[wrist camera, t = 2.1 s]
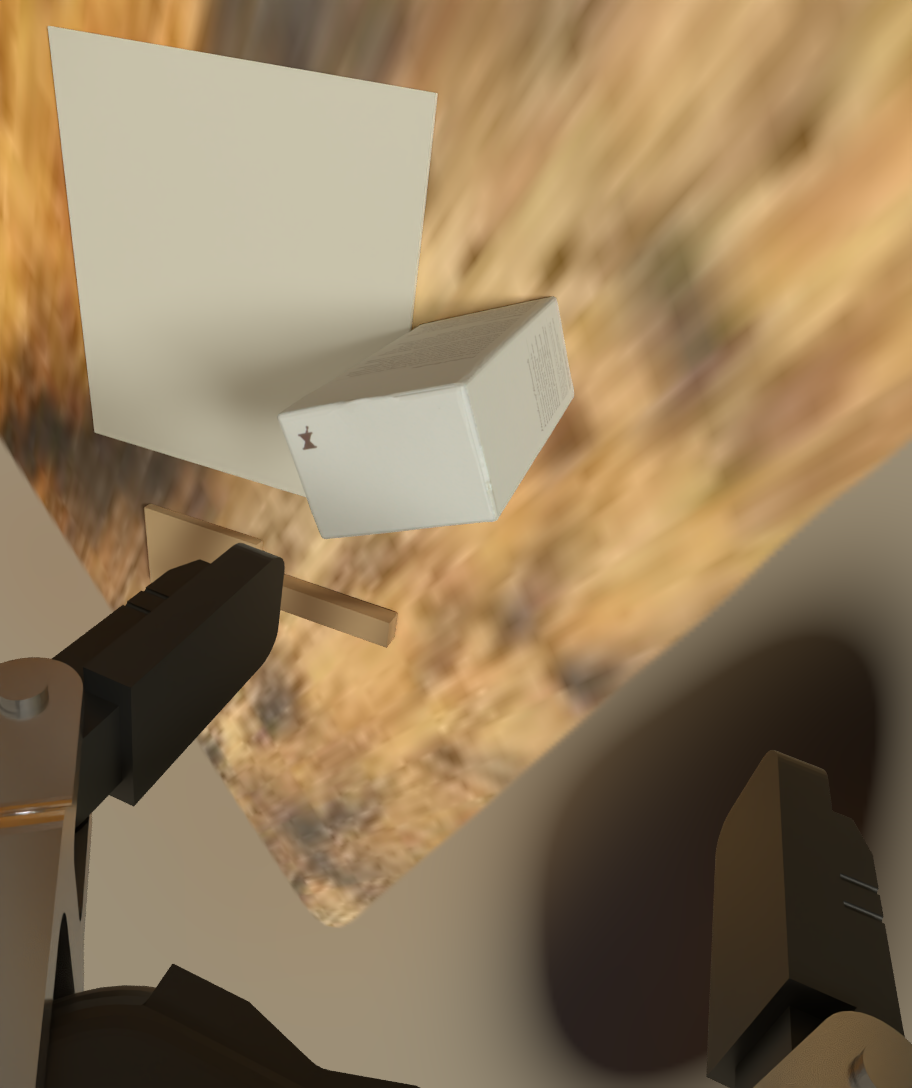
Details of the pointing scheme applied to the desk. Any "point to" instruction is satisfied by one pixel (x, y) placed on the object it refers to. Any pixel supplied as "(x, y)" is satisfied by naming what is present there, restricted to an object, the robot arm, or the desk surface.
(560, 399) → the skincare box
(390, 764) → the desk surface
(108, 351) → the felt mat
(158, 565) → the wooden turner
